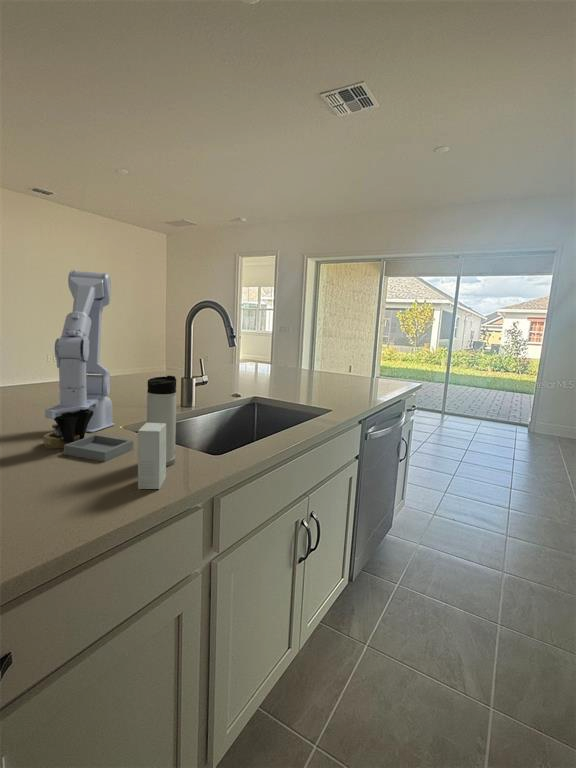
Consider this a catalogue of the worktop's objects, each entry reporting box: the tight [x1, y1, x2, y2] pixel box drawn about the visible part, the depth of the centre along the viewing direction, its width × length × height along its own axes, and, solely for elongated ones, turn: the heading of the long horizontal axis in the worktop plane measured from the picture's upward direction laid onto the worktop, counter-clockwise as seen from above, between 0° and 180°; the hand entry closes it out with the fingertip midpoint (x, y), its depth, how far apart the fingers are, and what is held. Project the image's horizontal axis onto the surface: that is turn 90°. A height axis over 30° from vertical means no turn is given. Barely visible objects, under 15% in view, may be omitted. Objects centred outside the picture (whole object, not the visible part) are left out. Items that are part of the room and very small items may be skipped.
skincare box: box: [137, 422, 167, 490], centre depth 79 cm, size 6×4×12 cm
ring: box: [43, 431, 80, 450], centre depth 98 cm, size 6×9×3 cm
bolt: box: [51, 423, 63, 437], centre depth 98 cm, size 3×2×5 cm, turn 165°
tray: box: [63, 433, 134, 463], centre depth 95 cm, size 10×11×2 cm
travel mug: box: [146, 375, 177, 467], centre depth 90 cm, size 6×7×20 cm
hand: (74, 440), depth 97 cm, fingers open, 3 cm apart
